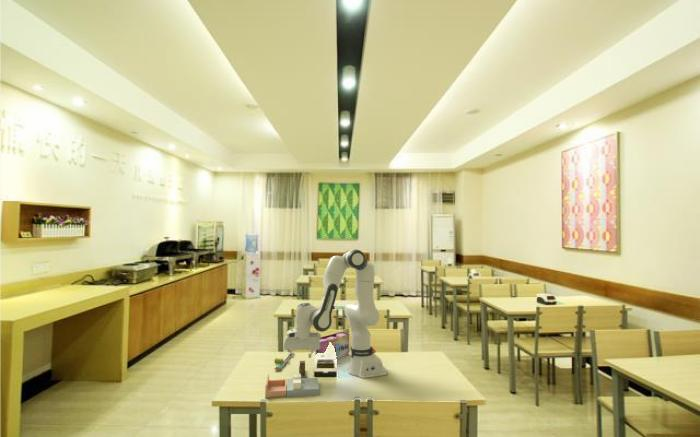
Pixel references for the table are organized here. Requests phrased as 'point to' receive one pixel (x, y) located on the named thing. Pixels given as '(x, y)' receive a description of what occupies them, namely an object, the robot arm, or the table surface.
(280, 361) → the flamethrower
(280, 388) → the box
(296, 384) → the tile
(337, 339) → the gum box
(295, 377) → the tile
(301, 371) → the scraper
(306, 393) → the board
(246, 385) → the table surface
